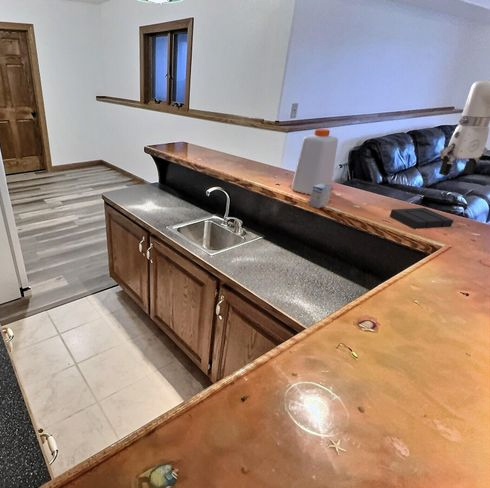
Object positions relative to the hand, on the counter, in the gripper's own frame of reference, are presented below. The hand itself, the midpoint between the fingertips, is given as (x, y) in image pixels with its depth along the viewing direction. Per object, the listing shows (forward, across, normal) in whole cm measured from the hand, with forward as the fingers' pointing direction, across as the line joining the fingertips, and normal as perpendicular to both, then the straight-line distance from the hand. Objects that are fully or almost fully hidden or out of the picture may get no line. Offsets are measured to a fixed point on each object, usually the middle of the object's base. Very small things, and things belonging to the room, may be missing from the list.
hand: (455, 174), depth 121 cm
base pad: (+19, -3, +5) cm, 20 cm away
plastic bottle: (+18, -24, +46) cm, 55 cm away
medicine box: (+19, -31, +27) cm, 46 cm away
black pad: (+19, -4, +3) cm, 20 cm away
